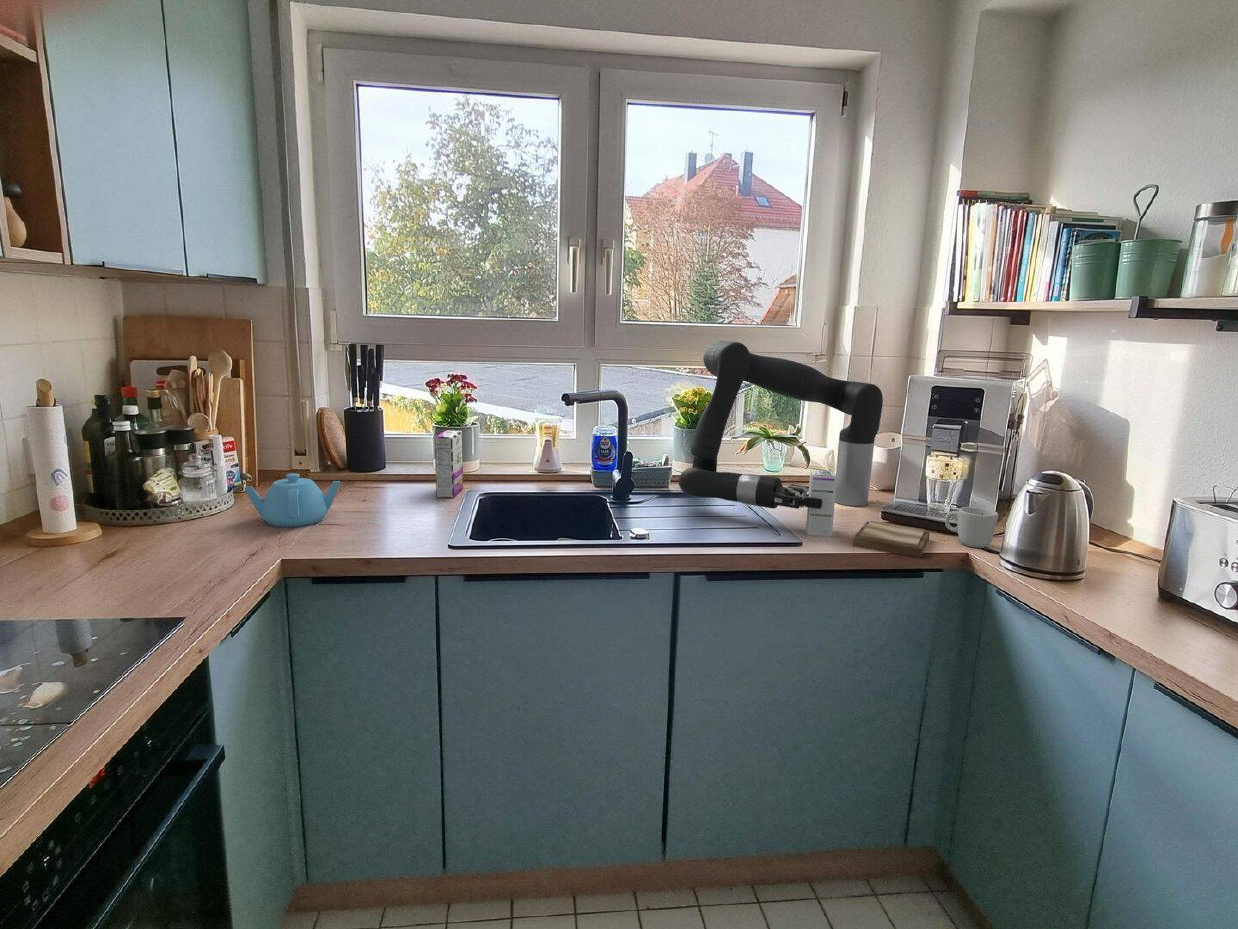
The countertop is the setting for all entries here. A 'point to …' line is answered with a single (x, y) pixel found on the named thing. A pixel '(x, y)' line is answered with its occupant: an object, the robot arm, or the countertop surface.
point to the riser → (892, 538)
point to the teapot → (293, 501)
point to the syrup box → (822, 489)
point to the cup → (974, 526)
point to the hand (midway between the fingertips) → (826, 500)
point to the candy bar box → (448, 464)
